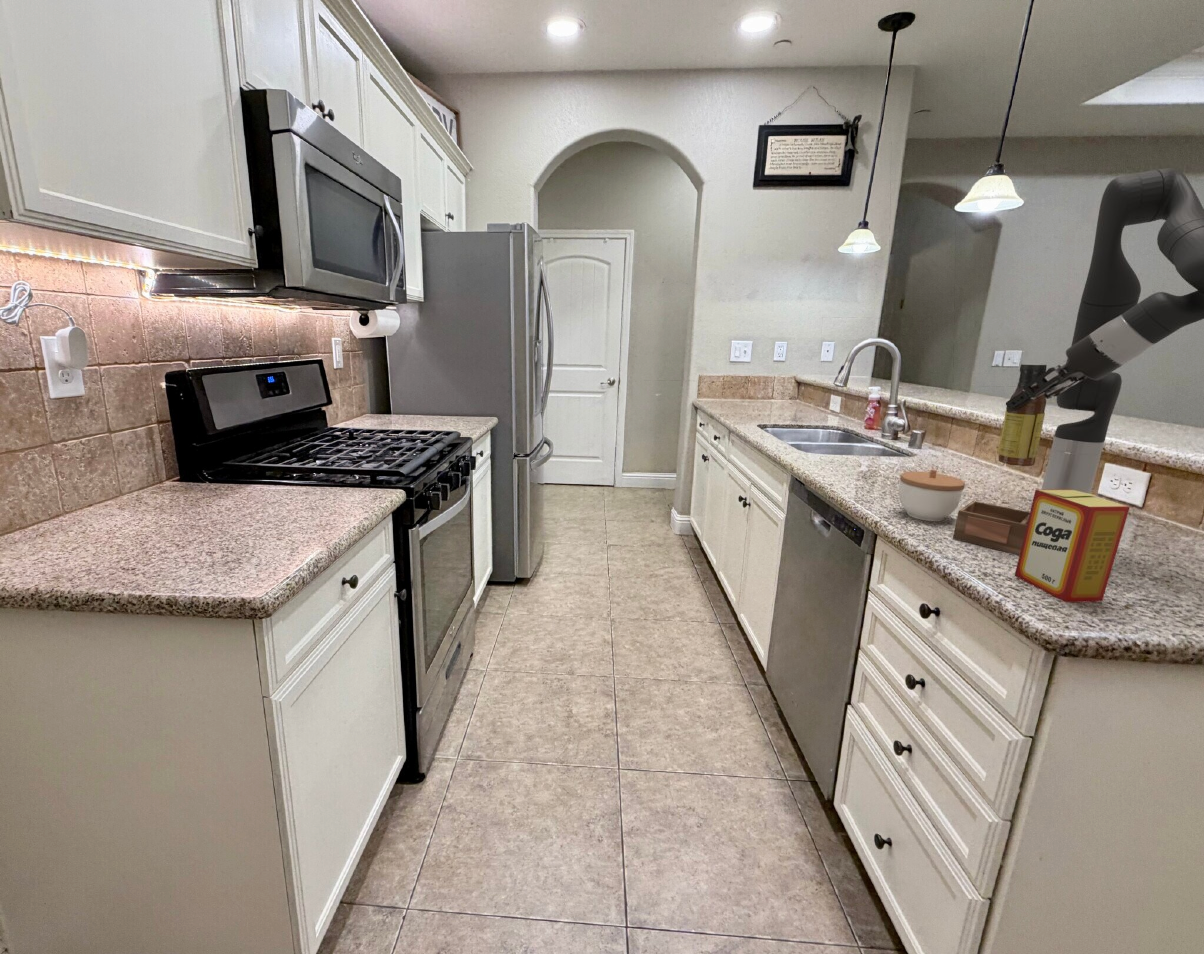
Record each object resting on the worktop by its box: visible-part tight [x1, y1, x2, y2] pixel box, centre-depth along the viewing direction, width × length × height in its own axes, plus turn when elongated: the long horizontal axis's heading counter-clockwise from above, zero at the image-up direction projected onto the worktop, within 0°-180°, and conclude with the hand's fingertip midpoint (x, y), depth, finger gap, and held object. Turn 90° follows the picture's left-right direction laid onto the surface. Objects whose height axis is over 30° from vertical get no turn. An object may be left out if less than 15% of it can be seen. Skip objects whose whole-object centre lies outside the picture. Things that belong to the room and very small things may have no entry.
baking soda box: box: [1014, 489, 1131, 603], centre depth 88 cm, size 10×6×16 cm
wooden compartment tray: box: [952, 500, 1030, 556], centre depth 106 cm, size 11×21×6 cm, turn 43°
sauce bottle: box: [997, 363, 1047, 467], centre depth 107 cm, size 6×6×20 cm
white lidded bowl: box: [898, 468, 966, 522], centre depth 123 cm, size 13×13×11 cm
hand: (1016, 406), depth 108 cm, fingers closed on sauce bottle, 6 cm apart
